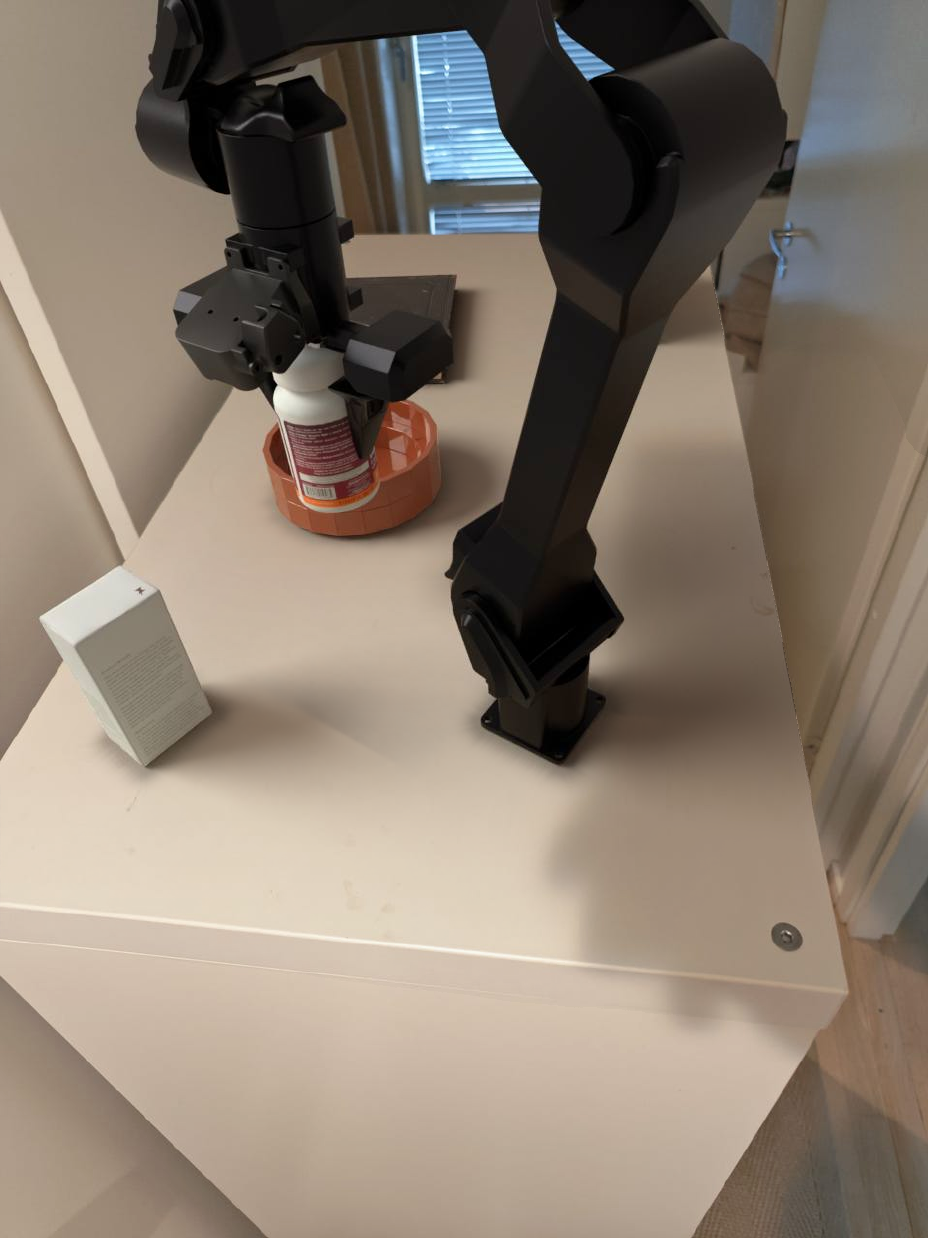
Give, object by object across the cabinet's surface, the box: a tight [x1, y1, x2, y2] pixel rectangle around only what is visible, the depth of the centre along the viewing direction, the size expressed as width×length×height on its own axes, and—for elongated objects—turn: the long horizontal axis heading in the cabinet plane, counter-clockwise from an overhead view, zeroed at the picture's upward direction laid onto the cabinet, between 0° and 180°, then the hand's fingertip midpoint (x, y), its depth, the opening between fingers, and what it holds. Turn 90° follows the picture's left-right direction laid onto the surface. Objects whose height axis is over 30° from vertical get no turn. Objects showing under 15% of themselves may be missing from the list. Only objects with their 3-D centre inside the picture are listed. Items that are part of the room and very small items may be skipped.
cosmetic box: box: [39, 565, 213, 768], centre depth 55 cm, size 6×4×12 cm
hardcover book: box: [346, 273, 459, 384], centre depth 99 cm, size 16×23×2 cm
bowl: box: [262, 399, 442, 537], centre depth 76 cm, size 15×15×6 cm
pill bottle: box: [273, 345, 380, 513], centre depth 58 cm, size 6×6×11 cm
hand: (329, 443), depth 59 cm, fingers closed on pill bottle, 6 cm apart
